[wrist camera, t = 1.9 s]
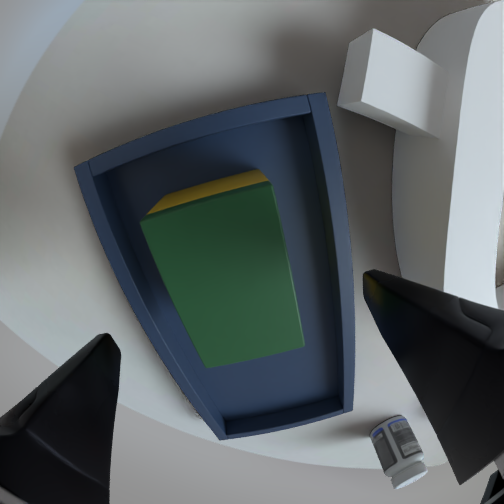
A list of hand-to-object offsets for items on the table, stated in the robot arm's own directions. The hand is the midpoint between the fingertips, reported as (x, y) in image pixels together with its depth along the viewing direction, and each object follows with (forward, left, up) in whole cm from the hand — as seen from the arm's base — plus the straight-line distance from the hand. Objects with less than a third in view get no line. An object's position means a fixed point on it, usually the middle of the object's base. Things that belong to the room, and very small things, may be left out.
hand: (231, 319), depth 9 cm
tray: (0, -4, -6) cm, 7 cm away
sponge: (0, 0, -5) cm, 5 cm away
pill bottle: (+11, -26, -6) cm, 29 cm away
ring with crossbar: (+23, 0, -6) cm, 24 cm away
